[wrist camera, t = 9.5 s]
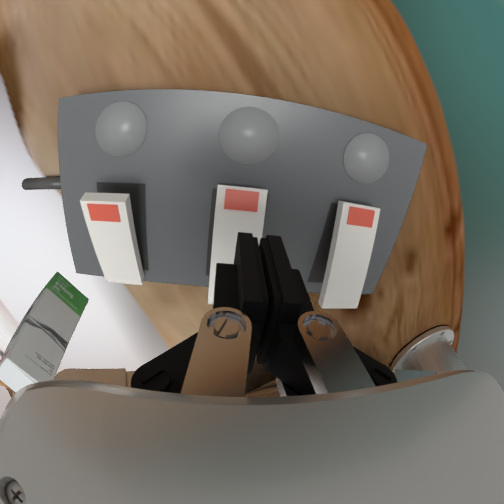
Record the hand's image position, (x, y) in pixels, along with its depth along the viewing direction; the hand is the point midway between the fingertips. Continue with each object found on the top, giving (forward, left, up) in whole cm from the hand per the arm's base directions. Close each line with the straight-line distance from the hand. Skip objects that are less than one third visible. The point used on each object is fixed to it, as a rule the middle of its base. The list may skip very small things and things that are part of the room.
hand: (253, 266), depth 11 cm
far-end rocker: (-3, -8, -7) cm, 11 cm away
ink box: (-14, +19, -11) cm, 26 cm away
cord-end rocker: (-3, +8, -7) cm, 11 cm away
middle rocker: (-3, 0, -7) cm, 7 cm away
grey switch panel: (0, +3, -11) cm, 11 cm away
